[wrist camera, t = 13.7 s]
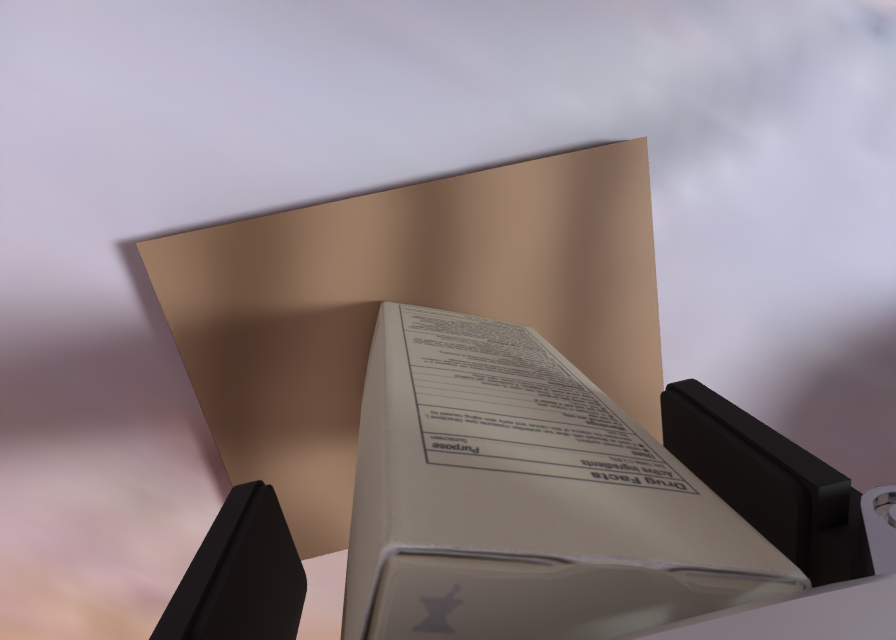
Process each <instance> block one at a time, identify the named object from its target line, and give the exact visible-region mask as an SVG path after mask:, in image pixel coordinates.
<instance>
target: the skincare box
mask: <svg viewBox="0 0 896 640" xmlns="http://www.w3.org/2000/svg"><path fill="white" fill-rule="evenodd" d="M811 588H812V585H811V581H810V580H809V579H808V578H807V576H806V575H805V574H804V573H803V572H802V571H801V570H800V569H799V568H798V567H797V566H796V565H795V564H793V563H792V562H791V561H790V560H789V559H788V558H787V557H786V556H785V555H783V554H782V553H781V552H780V551H779V550H778V549H777V548H776V547H775V546H773V545H772V544H771V543H770V542H769V541H768V540H767V539H766V538H765V537H763V536H762V535H761V534H760V533H759V532H758V531H757V530H756V529H754V528H753V527H752V526H751V525H750V524H749V523H748V522H747V521H746V520H744V519H743V518H742V517H741V516H740V515H739V514H738V513H737V512H736V511H734V510H733V509H732V508H731V507H730V506H729V505H728V504H727V503H726V502H724V501H723V500H722V499H721V498H720V497H719V496H718V495H717V494H716V493H714V492H713V491H712V490H711V489H710V488H709V487H708V486H707V485H705V484H704V483H703V482H702V481H701V480H700V479H699V478H698V477H697V476H695V475H694V474H693V473H692V472H691V471H690V470H689V469H688V468H687V467H685V466H684V465H683V464H682V463H681V462H680V461H679V460H678V459H677V458H675V457H674V456H673V455H672V454H671V453H670V452H669V451H668V450H667V449H666V448H665V447H663V446H662V445H661V444H660V443H659V442H658V441H657V440H656V439H655V438H654V437H652V436H651V435H650V434H649V433H648V432H647V431H646V430H645V429H644V428H642V427H641V426H640V425H639V424H638V423H637V422H636V421H635V420H634V419H632V418H631V417H630V416H629V415H628V414H627V413H626V412H625V411H624V410H622V409H621V408H620V407H619V406H618V405H617V404H616V403H615V402H614V401H613V400H611V399H610V398H609V397H608V396H607V395H606V394H605V393H604V392H603V391H601V390H600V389H599V388H598V387H597V386H596V385H595V384H594V383H592V382H591V381H590V380H589V379H588V378H587V377H586V376H585V375H584V374H583V373H582V372H581V371H579V370H578V369H577V368H576V367H575V366H574V365H573V364H571V363H570V362H569V361H568V360H567V359H566V358H565V357H564V356H563V355H562V354H561V353H559V352H558V351H557V350H556V349H555V348H554V347H553V346H552V345H551V344H550V343H548V342H547V341H546V340H545V339H544V338H543V337H542V336H541V335H540V334H539V333H537V332H536V331H535V330H534V329H533V328H530V327H527V326H522V325H518V324H513V323H509V322H504V321H499V320H494V319H489V318H484V317H479V316H473V315H468V314H462V313H456V312H451V311H445V310H439V309H433V308H427V307H421V306H414V305H407V304H400V303H393V302H382V303H381V306H380V310H379V314H378V318H377V322H376V327H375V331H374V336H373V340H372V345H371V350H370V355H369V360H368V365H367V371H366V377H365V382H364V390H363V397H362V406H361V417H360V428H359V438H358V450H357V462H356V473H355V483H354V494H353V505H352V515H351V526H350V537H349V548H348V560H347V571H346V583H345V594H344V605H343V617H342V629H341V640H605V639H609V638H613V637H616V636H620V635H624V634H628V633H632V632H636V631H640V630H644V629H648V628H652V627H656V626H660V625H664V624H668V623H672V622H676V621H680V620H684V619H688V618H692V617H696V616H699V615H703V614H707V613H711V612H715V611H719V610H723V609H727V608H731V607H735V606H739V605H743V604H747V603H751V602H755V601H760V600H764V599H768V598H773V597H777V596H781V595H785V594H790V593H794V592H798V591H802V590H807V589H811Z"/></svg>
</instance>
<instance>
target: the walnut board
mask: <svg viewBox="0 0 896 640" xmlns="http://www.w3.org/2000/svg"><path fill="white" fill-rule="evenodd" d="M136 245H137V248H138V250H139V253H140V255H141V258H142V260H143V263H144V265H145V268H146V270H147V273H148V275H149V278H150V280H151V283H152V285H153V288H154V290H155V293H156V295H157V298H158V300H159V303H160V305H161V308H162V310H163V313H164V315H165V318H166V320H167V323H168V325H169V328H170V330H171V333H172V335H173V338H174V340H175V343H176V345H177V348H178V350H179V353H180V356H181V358H182V361H183V363H184V366H185V368H186V371H187V373H188V376H189V378H190V381H191V383H192V386H193V388H194V391H195V393H196V396H197V398H198V401H199V403H200V406H201V408H202V411H203V413H204V416H205V418H206V421H207V423H208V426H209V428H210V431H211V433H212V436H213V438H214V441H215V443H216V446H217V448H218V451H219V453H220V456H221V458H222V461H223V463H224V466H225V468H226V471H227V473H228V476H229V478H230V481H231V483H232V486H233V487H234V486H236V485H240V484H244V483H248V482H252V481H257V480H262V481H263V482H264V483H265V485H268V484H271V485H272V486H273V488H274V490H275V493H276V495H277V498H278V501H279V503H280V506H281V509H282V512H283V514H284V517H285V520H286V522H287V525H288V528H289V530H290V533H291V536H292V539H293V541H294V544H295V547H296V549H297V552H298V555H299V557H300V560H305V559H309V558H313V557H317V556H321V555H325V554H329V553H333V552H337V551H341V550H345V549H348V548H349V537H350V526H351V515H352V505H353V494H354V483H355V473H356V462H357V450H358V438H359V428H360V417H361V406H362V397H363V390H364V382H365V377H366V371H367V365H368V360H369V355H370V350H371V345H372V340H373V336H374V331H375V327H376V322H377V318H378V314H379V310H380V306H381V303H382V302H393V303H400V304H407V305H414V306H421V307H427V308H433V309H439V310H445V311H451V312H456V313H462V314H468V315H473V316H479V317H484V318H489V319H494V320H499V321H504V322H509V323H513V324H518V325H522V326H527V327H530V328H533V329H534V330H535V331H536V332H537V333H539V334H540V335H541V336H542V337H543V338H544V339H545V340H546V341H547V342H548V343H550V344H551V345H552V346H553V347H554V348H555V349H556V350H557V351H558V352H559V353H561V354H562V355H563V356H564V357H565V358H566V359H567V360H568V361H569V362H570V363H571V364H573V365H574V366H575V367H576V368H577V369H578V370H579V371H581V372H582V373H583V374H584V375H585V376H586V377H587V378H588V379H589V380H590V381H591V382H592V383H594V384H595V385H596V386H597V387H598V388H599V389H600V390H601V391H603V392H604V393H605V394H606V395H607V396H608V397H609V398H610V399H611V400H613V401H614V402H615V403H616V404H617V405H618V406H619V407H620V408H621V409H622V410H624V411H625V412H626V413H627V414H628V415H629V416H630V417H631V418H632V419H634V420H635V421H636V422H637V423H638V424H639V425H640V426H641V427H642V428H644V429H645V430H646V431H647V432H648V433H649V434H650V435H651V436H652V437H654V438H655V439H656V440H657V441H658V442H659V443H660V444H661V445H662V446H663V433H662V418H661V403H660V395H661V393H662V392H663V391H664V386H663V371H662V356H661V341H660V326H659V311H658V296H657V281H656V267H655V252H654V237H653V222H652V207H651V192H650V177H649V162H648V147H647V137H642V138H637V139H632V140H627V141H623V142H618V143H613V144H608V145H604V146H599V147H594V148H589V149H584V150H580V151H575V152H570V153H565V154H560V155H556V156H551V157H546V158H541V159H536V160H532V161H527V162H522V163H517V164H512V165H508V166H503V167H498V168H493V169H489V170H484V171H479V172H474V173H469V174H465V175H460V176H455V177H450V178H445V179H441V180H436V181H431V182H426V183H421V184H417V185H412V186H407V187H402V188H397V189H393V190H388V191H383V192H378V193H374V194H369V195H364V196H359V197H354V198H350V199H345V200H340V201H335V202H330V203H326V204H321V205H316V206H311V207H306V208H302V209H297V210H292V211H287V212H283V213H278V214H273V215H268V216H263V217H259V218H254V219H249V220H244V221H239V222H235V223H230V224H225V225H220V226H215V227H211V228H206V229H201V230H196V231H191V232H187V233H182V234H177V235H172V236H168V237H163V238H158V239H153V240H148V241H144V242H139V243H136Z"/></svg>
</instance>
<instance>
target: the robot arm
mask: <svg viewBox="0 0 896 640" xmlns="http://www.w3.org/2000/svg"><path fill="white" fill-rule="evenodd" d="M660 403H661V418H662V433H663V447H665V448H666V449H667V450H668V451H669V452H670V453H671V454H672V455H673V456H674V457H675V458H677V459H678V460H679V461H680V462H681V463H682V464H683V465H684V466H685V467H687V468H688V469H689V470H690V471H691V472H692V473H693V474H694V475H695V476H697V477H698V478H699V479H700V480H701V481H702V482H703V483H704V484H705V485H707V486H708V487H709V488H710V489H711V490H712V491H713V492H714V493H716V494H717V495H718V496H719V497H720V498H721V499H722V500H723V501H724V502H726V503H727V504H728V505H729V506H730V507H731V508H732V509H733V510H734V511H736V512H737V513H738V514H739V515H740V516H741V517H742V518H743V519H744V520H746V521H747V522H748V523H749V524H750V525H751V526H752V527H753V528H754V529H756V530H757V531H758V532H759V533H760V534H761V535H762V536H763V537H765V538H766V539H767V540H768V541H769V542H770V543H771V544H772V545H773V546H775V547H776V548H777V549H778V550H779V551H780V552H781V553H782V554H783V555H785V556H786V557H787V558H788V559H789V560H790V561H791V562H792V563H793V564H795V565H796V566H797V567H798V568H799V569H800V570H801V571H802V572H803V573H804V574H805V575H806V576H807V578H808V579H809V580H810V581H811V585H812V588H811V589H807V590H802V591H798V592H794V593H790V594H785V595H781V596H777V597H773V598H768V599H764V600H760V601H755V602H751V603H747V604H743V605H739V606H735V607H731V608H727V609H723V610H719V611H715V612H711V613H707V614H703V615H699V616H696V617H692V618H688V619H684V620H680V621H676V622H672V623H668V624H664V625H660V626H656V627H652V628H648V629H644V630H640V631H636V632H632V633H628V634H624V635H620V636H616V637H613V638H609V639H605V640H896V486H882V487H876V488H873V489H870V490H868V491H867V492H865V493H864V494H862V493H860V492H859V491H857V490H856V489H854V488H853V487H851V479H850V478H848V477H846V476H845V475H843V474H842V473H840V472H839V471H837V470H836V469H834V468H832V467H831V466H829V465H828V464H826V463H825V462H823V461H821V460H820V459H818V458H817V457H815V456H814V455H812V454H811V453H809V452H807V451H806V450H804V449H803V448H801V447H800V446H798V445H797V444H795V443H793V442H792V441H790V440H789V439H787V438H786V437H784V436H783V435H781V434H779V433H778V432H776V431H775V430H773V429H772V428H770V427H769V426H767V425H765V424H764V423H762V422H761V421H759V420H758V419H756V418H755V417H753V416H751V415H750V414H748V413H747V412H745V411H744V410H742V409H741V408H739V407H737V406H736V405H734V404H733V403H731V402H730V401H728V400H726V399H725V398H723V397H722V396H720V395H719V394H717V393H716V392H714V391H712V390H711V389H709V388H708V387H706V386H705V385H703V384H702V383H700V382H698V381H697V380H695V379H687V380H683V381H678V382H674V383H670V384H668V385H667V386H666V391H663V392H662V393H661V395H660ZM306 592H307V579H306V574H305V571H304V568H303V565H302V563H301V560H300V557H299V555H298V552H297V549H296V547H295V544H294V541H293V539H292V536H291V533H290V530H289V528H288V525H287V522H286V520H285V517H284V514H283V512H282V509H281V506H280V503H279V501H278V498H277V495H276V493H275V490H274V488H273V486H272V485H271V484H268V485H265V483H264V482H263V481H262V480H257V481H252V482H248V483H244V484H240V485H236V486H234V487H233V488H232V490H231V492H230V493H229V495H228V497H227V499H226V501H225V503H224V504H223V506H222V508H221V510H220V512H219V513H218V515H217V517H216V519H215V521H214V522H213V524H212V526H211V528H210V530H209V532H208V533H207V535H206V537H205V539H204V541H203V542H202V544H201V546H200V548H199V550H198V551H197V553H196V555H195V557H194V559H193V561H192V562H191V564H190V566H189V568H188V570H187V571H186V573H185V575H184V577H183V579H182V580H181V582H180V584H179V586H178V588H177V590H176V591H175V593H174V595H173V597H172V599H171V600H170V602H169V604H168V606H167V608H166V610H165V611H164V613H163V615H162V617H161V619H160V620H159V622H158V624H157V626H156V628H155V629H154V631H153V633H152V635H151V637H150V639H149V640H296V636H297V632H298V628H299V623H300V619H301V614H302V610H303V605H304V601H305V597H306Z"/></svg>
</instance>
